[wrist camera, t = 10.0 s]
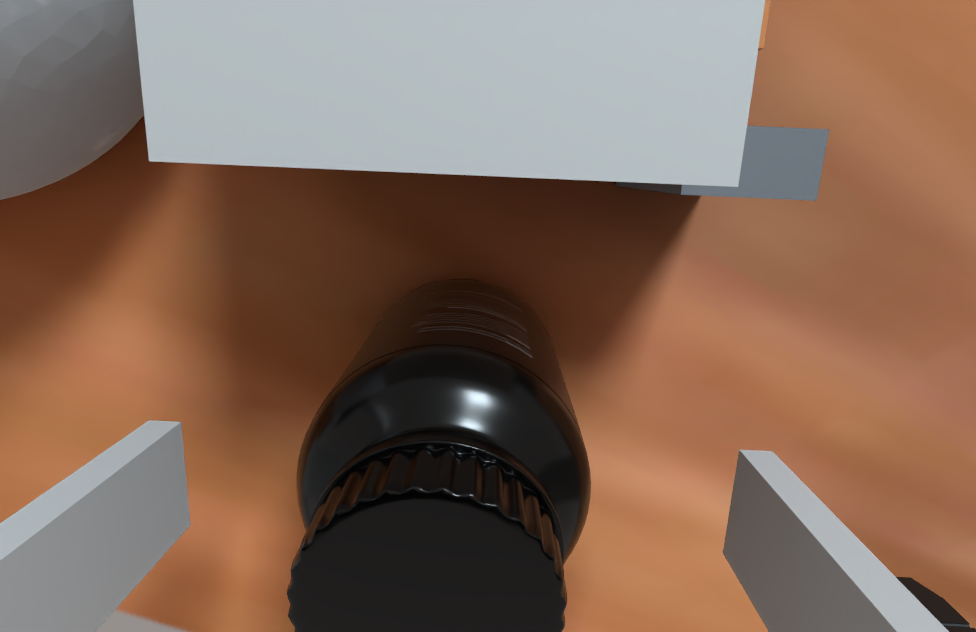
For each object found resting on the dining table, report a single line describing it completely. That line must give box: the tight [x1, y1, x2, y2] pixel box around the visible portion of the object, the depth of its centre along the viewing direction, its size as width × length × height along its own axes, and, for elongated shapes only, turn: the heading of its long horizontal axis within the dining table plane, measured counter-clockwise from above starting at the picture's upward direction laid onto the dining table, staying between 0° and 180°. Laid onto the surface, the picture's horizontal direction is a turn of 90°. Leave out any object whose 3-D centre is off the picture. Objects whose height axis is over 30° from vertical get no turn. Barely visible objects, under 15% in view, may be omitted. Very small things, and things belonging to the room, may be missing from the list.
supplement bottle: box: [287, 279, 591, 632], centre depth 15 cm, size 7×7×12 cm
